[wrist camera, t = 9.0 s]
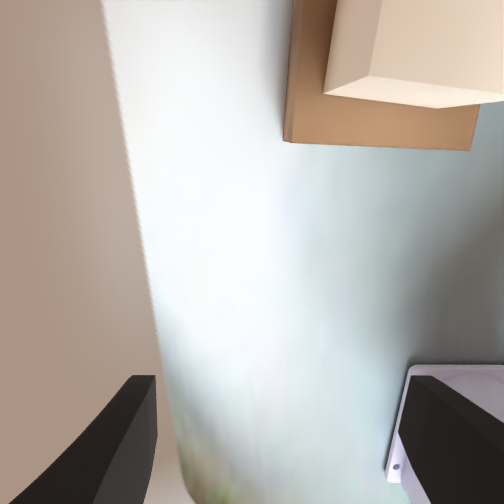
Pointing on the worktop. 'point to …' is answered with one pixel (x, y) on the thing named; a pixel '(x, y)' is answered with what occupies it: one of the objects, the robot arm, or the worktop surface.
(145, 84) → the worktop surface
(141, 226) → the worktop surface
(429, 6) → the cube
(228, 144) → the worktop surface
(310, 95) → the base block
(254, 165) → the worktop surface
